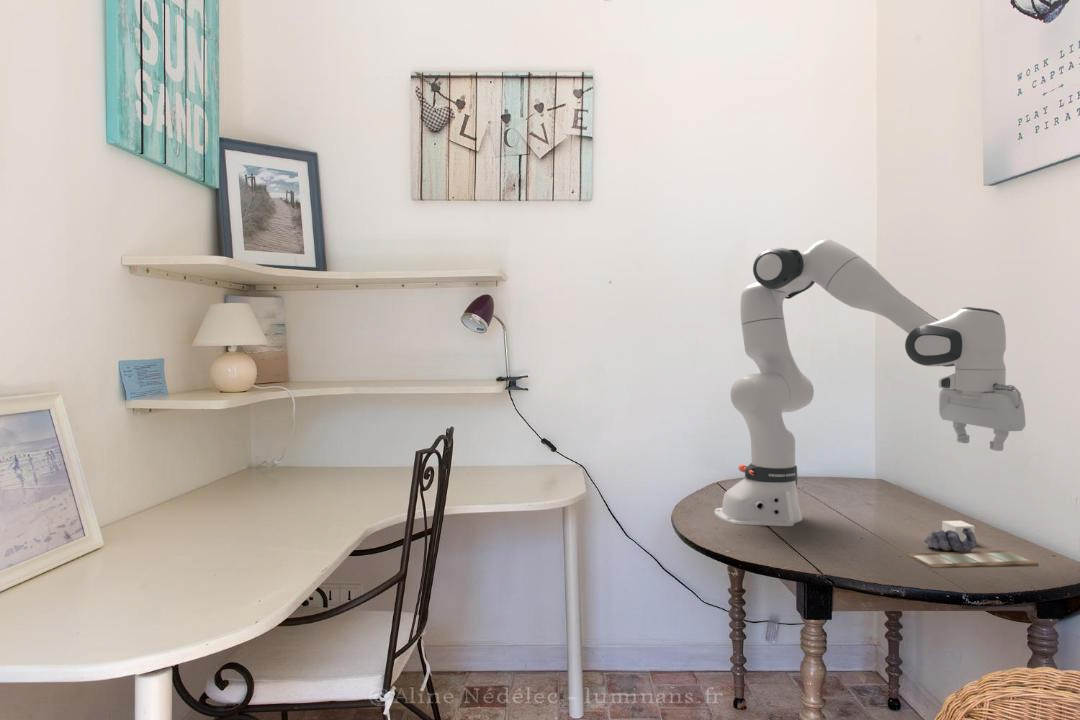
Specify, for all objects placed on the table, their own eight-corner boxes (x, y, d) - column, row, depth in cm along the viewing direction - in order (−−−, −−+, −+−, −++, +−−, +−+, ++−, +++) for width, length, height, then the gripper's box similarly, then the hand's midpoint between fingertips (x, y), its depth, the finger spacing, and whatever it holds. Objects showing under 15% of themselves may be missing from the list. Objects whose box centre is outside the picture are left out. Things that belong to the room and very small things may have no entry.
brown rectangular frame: (931, 569, 126) (931, 566, 126) (906, 556, 134) (906, 553, 134) (1038, 565, 127) (1038, 562, 127) (1006, 552, 135) (1006, 550, 135)
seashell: (972, 525, 137) (920, 527, 142) (975, 530, 132) (921, 532, 137) (978, 549, 136) (926, 551, 141) (981, 555, 131) (927, 557, 136)
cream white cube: (955, 546, 140) (955, 526, 140) (942, 539, 145) (942, 521, 145) (974, 545, 140) (974, 526, 140) (960, 539, 145) (960, 520, 145)
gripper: (1035, 385, 121) (1034, 454, 122) (959, 379, 142) (959, 438, 142) (1004, 386, 121) (1003, 455, 121) (933, 379, 141) (933, 439, 142)
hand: (979, 446), depth 132 cm, fingers open, 8 cm apart
